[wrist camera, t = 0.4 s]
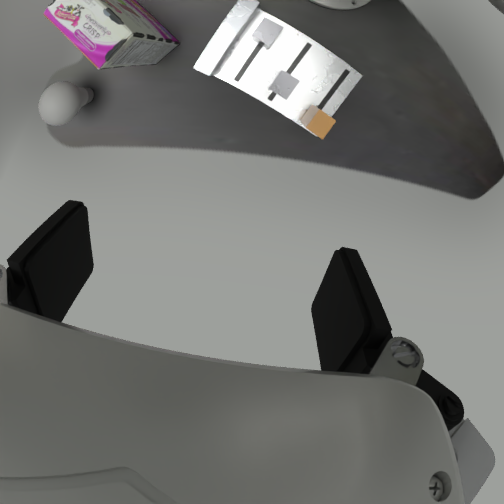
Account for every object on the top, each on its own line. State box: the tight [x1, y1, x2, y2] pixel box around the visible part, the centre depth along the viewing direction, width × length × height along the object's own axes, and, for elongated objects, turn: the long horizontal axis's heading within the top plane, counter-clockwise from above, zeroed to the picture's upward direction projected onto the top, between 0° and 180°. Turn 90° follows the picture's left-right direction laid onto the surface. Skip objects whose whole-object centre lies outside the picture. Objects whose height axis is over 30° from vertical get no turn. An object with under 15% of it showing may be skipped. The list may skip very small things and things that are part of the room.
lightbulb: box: [39, 81, 94, 126], centre depth 30 cm, size 6×6×11 cm
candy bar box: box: [43, 0, 180, 70], centre depth 23 cm, size 11×5×16 cm, turn 39°
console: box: [193, 0, 362, 137], centre depth 30 cm, size 11×18×7 cm, turn 58°
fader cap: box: [300, 104, 336, 139], centre depth 33 cm, size 3×2×5 cm
